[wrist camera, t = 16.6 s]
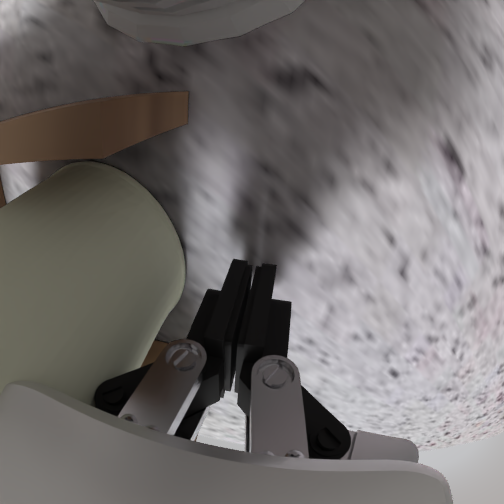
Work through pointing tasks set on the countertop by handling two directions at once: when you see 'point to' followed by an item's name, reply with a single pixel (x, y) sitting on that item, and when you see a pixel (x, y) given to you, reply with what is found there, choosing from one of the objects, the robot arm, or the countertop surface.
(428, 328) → the countertop surface
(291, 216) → the countertop surface
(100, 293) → the can
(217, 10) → the french press
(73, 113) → the caddy
